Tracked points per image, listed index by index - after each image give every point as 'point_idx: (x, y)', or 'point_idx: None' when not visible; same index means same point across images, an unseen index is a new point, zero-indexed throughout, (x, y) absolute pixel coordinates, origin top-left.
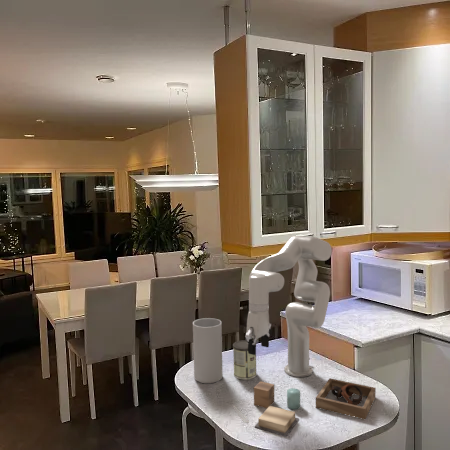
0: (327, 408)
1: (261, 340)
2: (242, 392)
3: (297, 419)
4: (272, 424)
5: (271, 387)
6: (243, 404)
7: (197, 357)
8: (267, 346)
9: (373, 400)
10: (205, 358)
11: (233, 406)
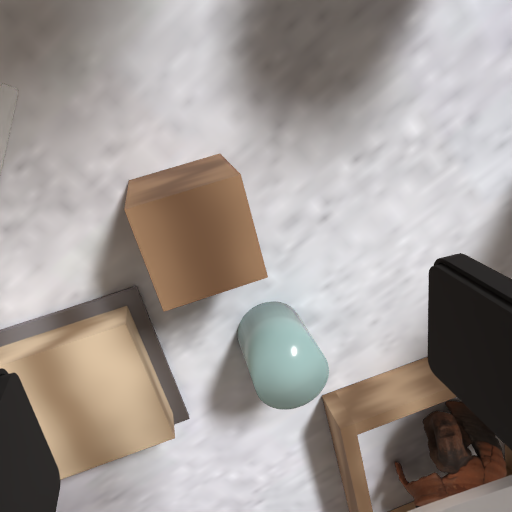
0: (334, 440)
1: (499, 311)
2: (192, 4)
3: (177, 420)
4: None
5: (220, 292)
6: (79, 128)
7: None
8: (436, 372)
9: None
10: None
11: (2, 97)
